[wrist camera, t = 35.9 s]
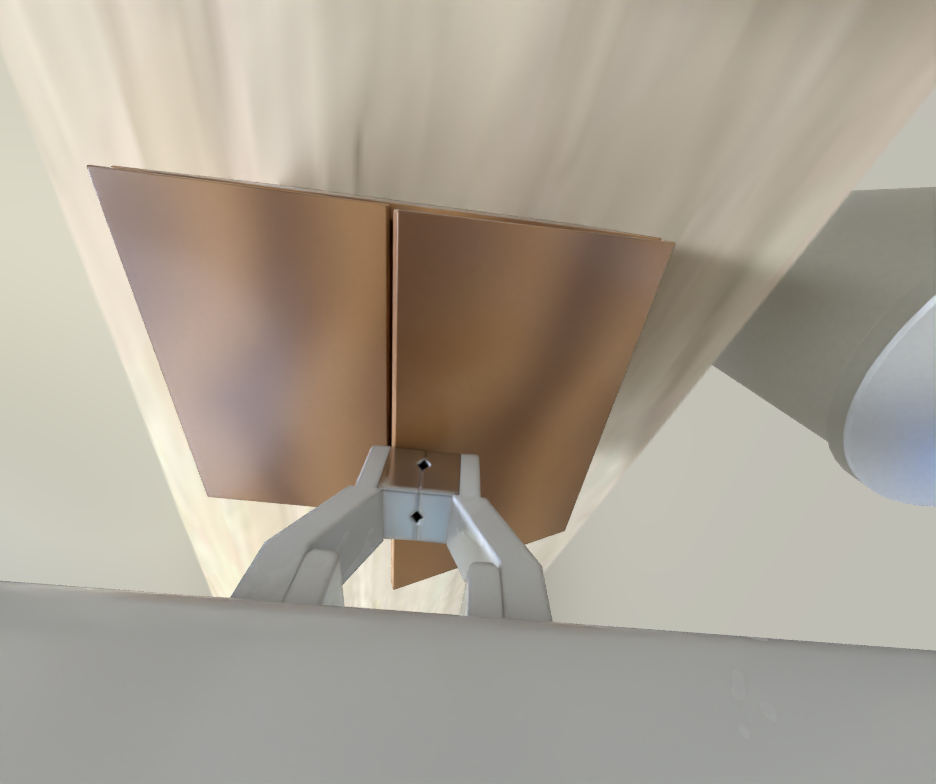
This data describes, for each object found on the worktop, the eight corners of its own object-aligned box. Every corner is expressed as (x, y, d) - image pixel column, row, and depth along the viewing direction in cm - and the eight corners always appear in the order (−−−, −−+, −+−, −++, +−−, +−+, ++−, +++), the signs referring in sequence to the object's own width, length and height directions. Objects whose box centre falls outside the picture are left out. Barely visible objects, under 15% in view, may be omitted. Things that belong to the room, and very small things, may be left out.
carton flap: (664, 240, 10) (676, 242, 10) (560, 524, 16) (565, 531, 16) (393, 208, 7) (397, 209, 7) (390, 580, 13) (393, 590, 13)
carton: (580, 224, 19) (676, 240, 10) (532, 415, 25) (564, 531, 16) (276, 184, 18) (81, 161, 9) (304, 391, 24) (205, 497, 15)
